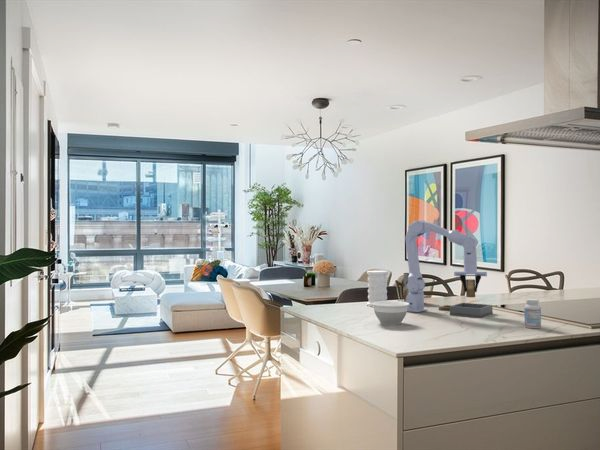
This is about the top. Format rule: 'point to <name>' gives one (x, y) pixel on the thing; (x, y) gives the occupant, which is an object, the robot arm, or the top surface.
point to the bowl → (390, 311)
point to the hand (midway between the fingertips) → (470, 291)
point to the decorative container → (377, 286)
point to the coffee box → (405, 286)
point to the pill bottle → (532, 314)
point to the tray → (471, 310)
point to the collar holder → (445, 307)
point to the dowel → (470, 288)
